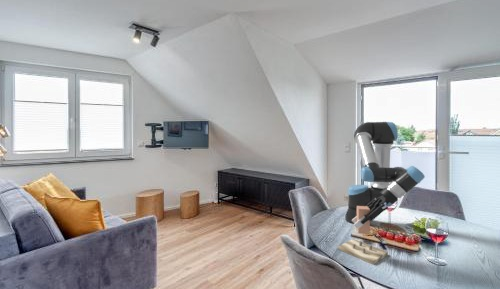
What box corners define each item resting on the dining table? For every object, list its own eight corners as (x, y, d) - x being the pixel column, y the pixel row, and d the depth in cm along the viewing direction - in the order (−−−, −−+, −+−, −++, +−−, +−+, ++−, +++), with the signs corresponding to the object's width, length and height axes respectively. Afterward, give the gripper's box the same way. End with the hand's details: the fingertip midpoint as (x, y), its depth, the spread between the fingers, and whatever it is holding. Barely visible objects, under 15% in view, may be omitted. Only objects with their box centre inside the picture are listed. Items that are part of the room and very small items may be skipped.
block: (356, 229, 125) (356, 205, 124) (367, 230, 124) (367, 206, 123) (358, 233, 120) (358, 208, 119) (369, 234, 119) (370, 209, 118)
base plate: (352, 241, 134) (353, 235, 134) (387, 254, 120) (388, 247, 120) (337, 249, 126) (337, 242, 126) (373, 264, 112) (373, 256, 111)
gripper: (405, 204, 109) (364, 238, 113) (392, 194, 126) (356, 223, 131) (392, 191, 110) (352, 225, 114) (380, 183, 127) (346, 213, 132)
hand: (354, 224), depth 123 cm, fingers closed on block, 5 cm apart
